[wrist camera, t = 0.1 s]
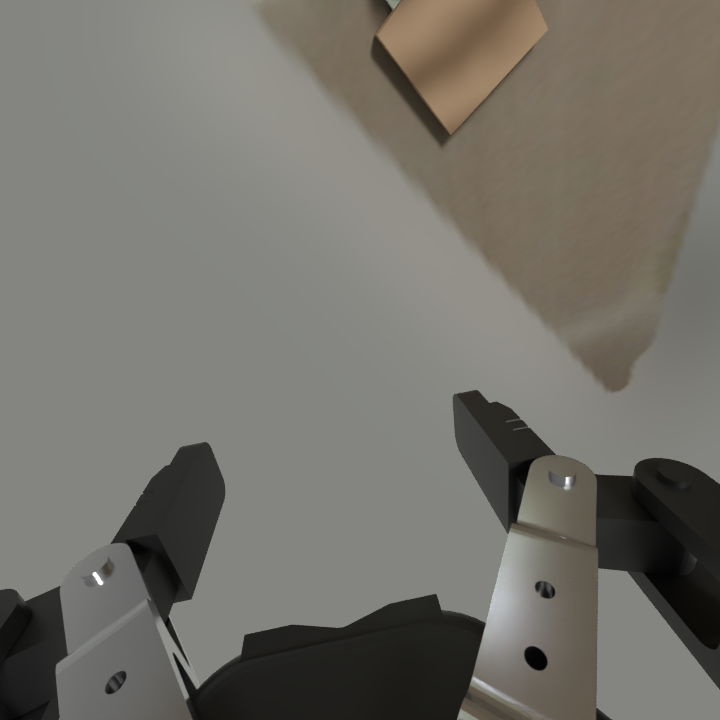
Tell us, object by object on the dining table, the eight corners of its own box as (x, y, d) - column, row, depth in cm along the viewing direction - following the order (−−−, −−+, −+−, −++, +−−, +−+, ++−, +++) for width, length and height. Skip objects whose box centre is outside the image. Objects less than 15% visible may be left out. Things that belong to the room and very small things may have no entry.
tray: (374, 35, 29) (377, 35, 28) (476, -108, 25) (483, -113, 24) (446, 132, 34) (451, 135, 33) (540, 29, 30) (548, 29, 29)
